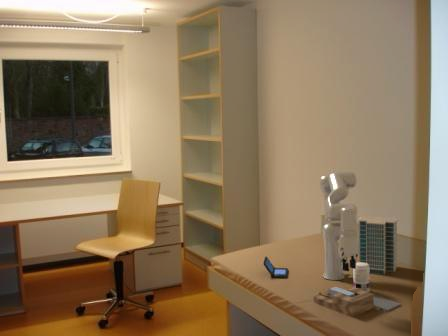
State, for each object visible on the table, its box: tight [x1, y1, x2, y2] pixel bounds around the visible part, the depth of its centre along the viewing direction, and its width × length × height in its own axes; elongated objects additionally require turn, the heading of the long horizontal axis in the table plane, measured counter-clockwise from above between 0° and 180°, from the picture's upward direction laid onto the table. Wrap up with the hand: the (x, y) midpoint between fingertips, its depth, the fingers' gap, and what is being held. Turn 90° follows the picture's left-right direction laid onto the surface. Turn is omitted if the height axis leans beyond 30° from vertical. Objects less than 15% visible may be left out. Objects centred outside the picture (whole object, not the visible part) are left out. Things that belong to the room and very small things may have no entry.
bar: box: [329, 286, 355, 297], centre depth 238 cm, size 12×4×4 cm, turn 37°
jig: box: [313, 287, 375, 318], centre depth 238 cm, size 24×16×7 cm, turn 37°
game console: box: [263, 256, 289, 279], centre depth 287 cm, size 16×14×9 cm
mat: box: [374, 294, 402, 312], centre depth 239 cm, size 11×18×1 cm, turn 37°
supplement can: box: [352, 261, 371, 293], centre depth 254 cm, size 8×8×15 cm
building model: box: [358, 216, 398, 275], centre depth 287 cm, size 20×16×30 cm
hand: (349, 268), depth 233 cm, fingers open, 4 cm apart
